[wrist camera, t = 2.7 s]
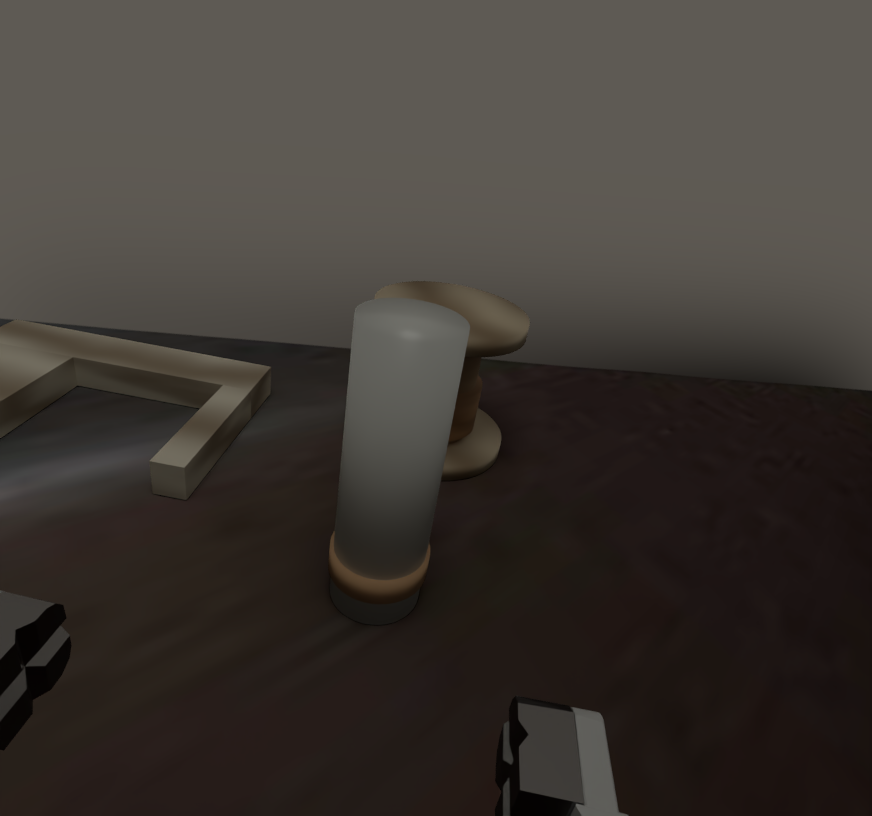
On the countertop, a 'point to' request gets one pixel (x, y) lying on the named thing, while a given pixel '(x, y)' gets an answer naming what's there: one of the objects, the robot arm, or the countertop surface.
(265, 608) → the countertop surface
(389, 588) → the pin
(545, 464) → the countertop surface
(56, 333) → the notch board
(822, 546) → the countertop surface
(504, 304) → the spool
